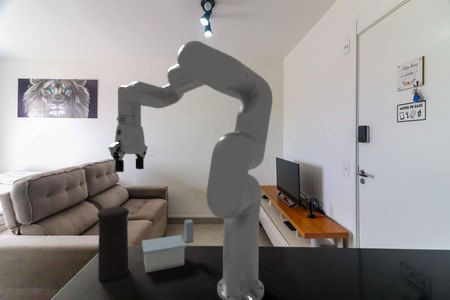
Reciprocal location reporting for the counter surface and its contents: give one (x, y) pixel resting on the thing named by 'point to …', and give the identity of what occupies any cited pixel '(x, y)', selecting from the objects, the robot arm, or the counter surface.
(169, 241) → the lid
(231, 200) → the robot arm
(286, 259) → the counter surface
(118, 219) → the container
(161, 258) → the tub
